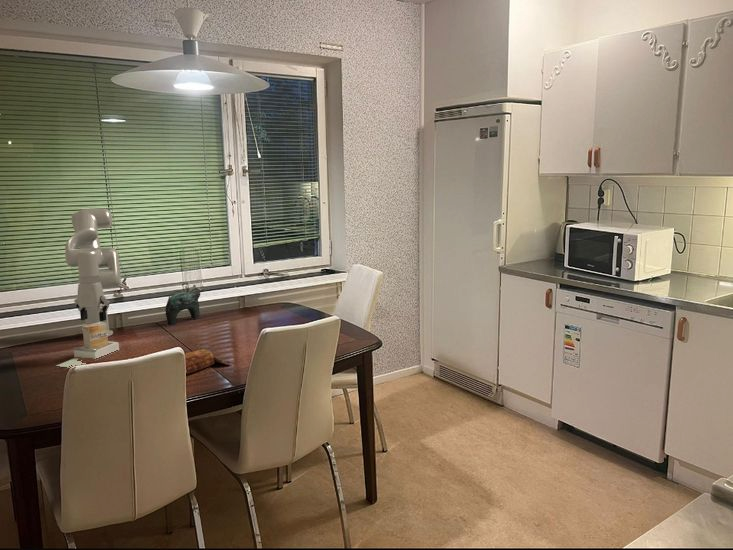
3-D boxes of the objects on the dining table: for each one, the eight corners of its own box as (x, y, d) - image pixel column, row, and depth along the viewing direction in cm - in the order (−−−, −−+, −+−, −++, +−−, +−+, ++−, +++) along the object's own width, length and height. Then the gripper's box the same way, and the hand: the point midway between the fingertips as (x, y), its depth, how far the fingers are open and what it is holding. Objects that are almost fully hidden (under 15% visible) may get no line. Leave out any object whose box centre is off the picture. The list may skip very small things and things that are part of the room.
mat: (55, 367, 222) (55, 365, 222) (75, 359, 231) (74, 357, 231) (75, 369, 219) (75, 368, 219) (94, 361, 228) (94, 360, 228)
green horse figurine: (197, 316, 299) (194, 279, 295) (204, 318, 295) (202, 281, 291) (164, 324, 283) (161, 286, 279) (172, 326, 279) (169, 287, 275)
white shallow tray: (74, 358, 232) (73, 347, 232) (98, 348, 245) (97, 338, 245) (95, 360, 229) (94, 349, 229) (119, 350, 242) (118, 340, 242)
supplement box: (91, 357, 233) (88, 327, 230) (84, 355, 235) (81, 325, 233) (109, 352, 240) (106, 322, 237) (102, 350, 242) (99, 321, 240)
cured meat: (237, 364, 223) (236, 347, 222) (183, 383, 204) (182, 365, 203) (208, 356, 234) (207, 341, 233) (155, 374, 214) (153, 357, 213)
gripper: (65, 281, 230) (70, 321, 233) (100, 282, 225) (104, 323, 228) (79, 278, 238) (83, 317, 240) (113, 279, 233) (117, 319, 235)
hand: (93, 320), depth 234 cm, fingers open, 9 cm apart
